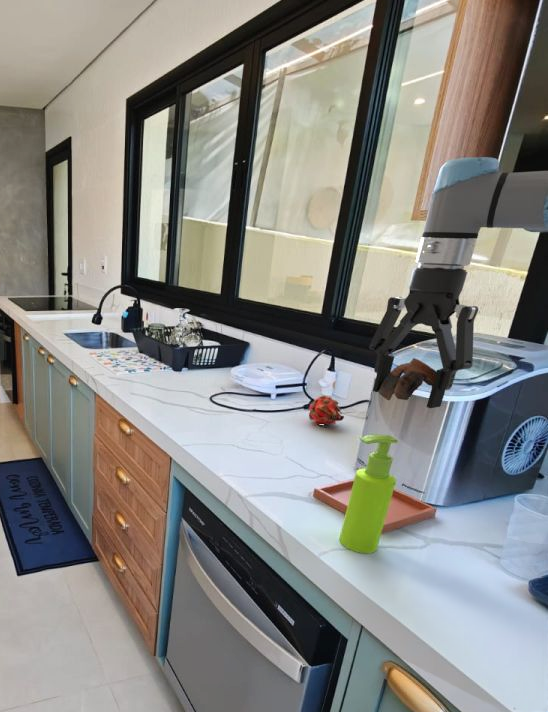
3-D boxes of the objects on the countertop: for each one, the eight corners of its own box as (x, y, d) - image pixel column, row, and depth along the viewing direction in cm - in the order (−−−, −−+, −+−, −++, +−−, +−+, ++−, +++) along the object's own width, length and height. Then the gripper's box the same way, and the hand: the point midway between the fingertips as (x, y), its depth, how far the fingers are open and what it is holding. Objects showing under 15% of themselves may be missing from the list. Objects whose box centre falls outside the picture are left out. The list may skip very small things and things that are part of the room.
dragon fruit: (315, 420, 152) (329, 440, 142) (296, 404, 150) (309, 424, 140) (338, 401, 149) (354, 420, 138) (319, 384, 146) (333, 402, 136)
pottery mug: (377, 390, 97) (410, 355, 94) (420, 422, 93) (457, 387, 90) (368, 387, 87) (405, 348, 84) (416, 422, 84) (456, 383, 80)
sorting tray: (434, 516, 97) (437, 508, 96) (381, 534, 90) (383, 525, 90) (363, 482, 110) (365, 475, 109) (312, 496, 103) (314, 488, 103)
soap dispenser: (327, 535, 90) (352, 430, 82) (363, 533, 90) (391, 429, 83) (345, 554, 84) (374, 443, 77) (384, 552, 85) (416, 443, 77)
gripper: (365, 262, 89) (338, 384, 98) (503, 271, 71) (456, 420, 80) (392, 263, 93) (364, 381, 101) (531, 271, 74) (483, 414, 83)
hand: (405, 398), depth 90 cm, fingers closed on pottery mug, 9 cm apart
